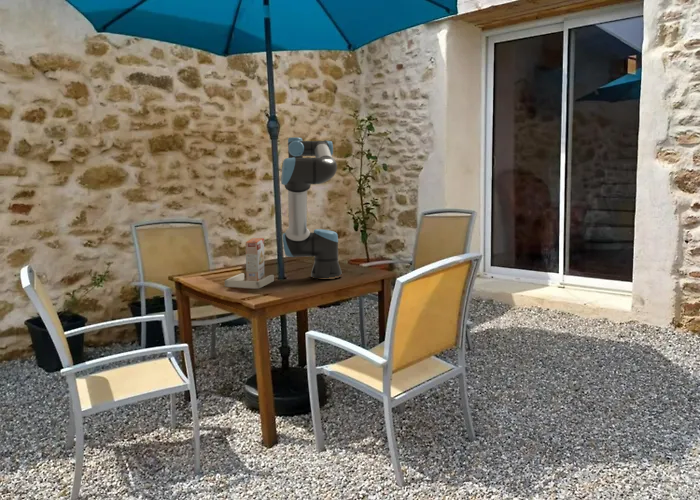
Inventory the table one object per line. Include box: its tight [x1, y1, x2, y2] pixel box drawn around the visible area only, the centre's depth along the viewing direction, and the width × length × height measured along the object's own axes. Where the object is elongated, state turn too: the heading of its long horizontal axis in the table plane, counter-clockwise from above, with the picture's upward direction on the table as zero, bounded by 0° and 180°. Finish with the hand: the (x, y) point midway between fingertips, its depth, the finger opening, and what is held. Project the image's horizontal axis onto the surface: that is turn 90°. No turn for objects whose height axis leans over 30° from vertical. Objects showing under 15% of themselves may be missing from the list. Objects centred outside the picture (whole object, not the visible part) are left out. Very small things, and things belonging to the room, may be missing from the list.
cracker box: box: [245, 237, 266, 281], centre depth 273 cm, size 14×6×21 cm, turn 176°
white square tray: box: [224, 272, 275, 290], centre depth 275 cm, size 17×17×3 cm
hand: (296, 213), depth 307 cm, fingers closed
